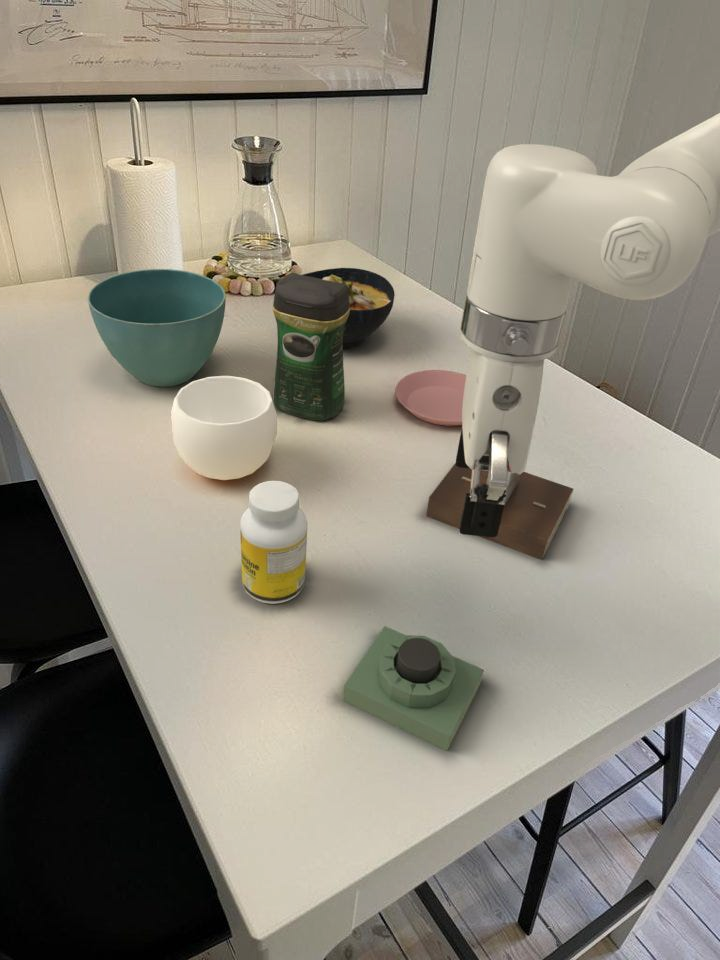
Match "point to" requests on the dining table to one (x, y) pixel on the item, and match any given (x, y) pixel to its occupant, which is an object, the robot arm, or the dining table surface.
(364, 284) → the bowl
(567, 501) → the brown dial block
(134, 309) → the teal mixing bowl
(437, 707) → the switch block
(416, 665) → the button
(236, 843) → the dining table surface
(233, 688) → the dining table surface
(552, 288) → the robot arm
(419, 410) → the plate
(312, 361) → the coffee jar
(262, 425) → the cup
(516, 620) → the dining table surface
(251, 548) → the pill bottle
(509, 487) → the red-tipped white block
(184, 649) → the dining table surface
